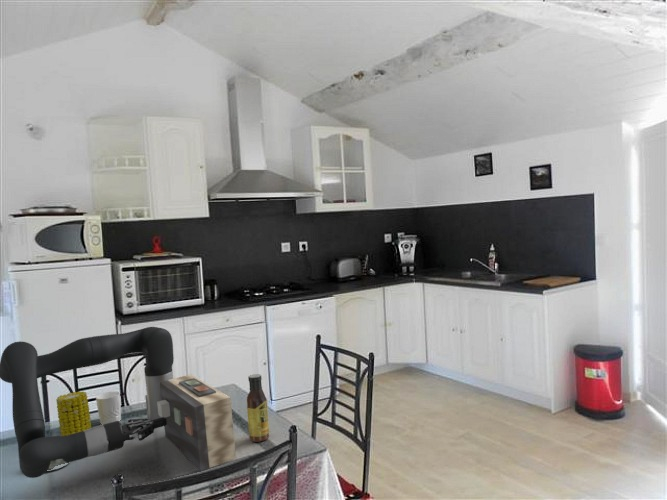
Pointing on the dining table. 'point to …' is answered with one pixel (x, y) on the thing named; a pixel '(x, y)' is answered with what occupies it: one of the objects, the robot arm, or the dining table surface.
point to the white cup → (109, 407)
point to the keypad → (200, 421)
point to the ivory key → (163, 408)
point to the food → (73, 413)
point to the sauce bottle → (257, 410)
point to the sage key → (177, 416)
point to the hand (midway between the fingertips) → (165, 420)
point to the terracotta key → (189, 425)
